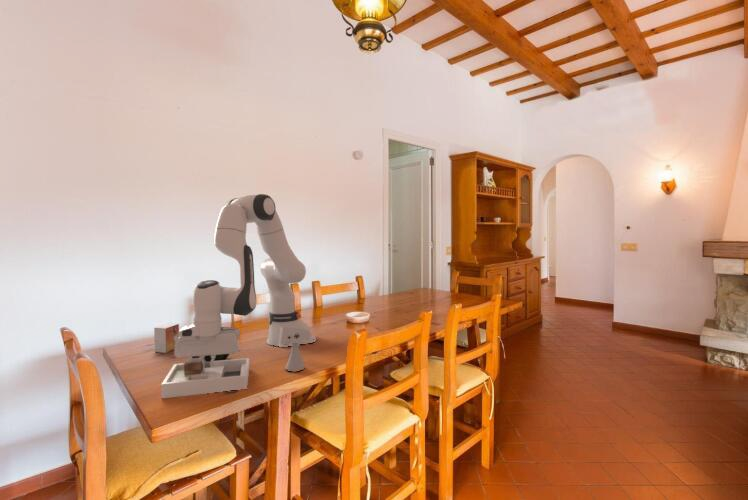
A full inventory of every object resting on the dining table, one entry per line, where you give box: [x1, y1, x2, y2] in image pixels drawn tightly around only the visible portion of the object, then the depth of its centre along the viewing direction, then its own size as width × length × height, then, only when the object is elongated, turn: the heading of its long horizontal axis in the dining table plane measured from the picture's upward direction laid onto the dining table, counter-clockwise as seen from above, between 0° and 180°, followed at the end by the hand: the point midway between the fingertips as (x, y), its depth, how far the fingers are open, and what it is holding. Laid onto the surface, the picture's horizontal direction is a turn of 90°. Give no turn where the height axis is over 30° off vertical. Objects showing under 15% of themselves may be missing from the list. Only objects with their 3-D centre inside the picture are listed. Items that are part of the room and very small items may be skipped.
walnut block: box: [184, 357, 203, 375], centre depth 125 cm, size 5×5×4 cm
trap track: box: [160, 357, 250, 399], centre depth 123 cm, size 25×17×4 cm
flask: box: [284, 342, 306, 372], centre depth 136 cm, size 7×7×10 cm
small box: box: [153, 322, 180, 354], centre depth 155 cm, size 8×6×10 cm
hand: (207, 367), depth 126 cm, fingers closed
